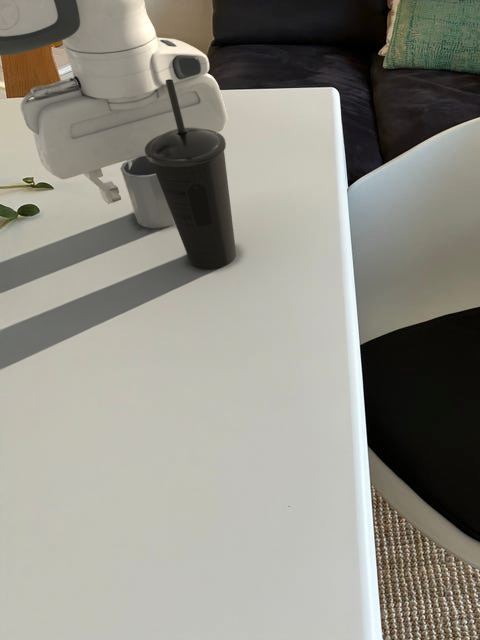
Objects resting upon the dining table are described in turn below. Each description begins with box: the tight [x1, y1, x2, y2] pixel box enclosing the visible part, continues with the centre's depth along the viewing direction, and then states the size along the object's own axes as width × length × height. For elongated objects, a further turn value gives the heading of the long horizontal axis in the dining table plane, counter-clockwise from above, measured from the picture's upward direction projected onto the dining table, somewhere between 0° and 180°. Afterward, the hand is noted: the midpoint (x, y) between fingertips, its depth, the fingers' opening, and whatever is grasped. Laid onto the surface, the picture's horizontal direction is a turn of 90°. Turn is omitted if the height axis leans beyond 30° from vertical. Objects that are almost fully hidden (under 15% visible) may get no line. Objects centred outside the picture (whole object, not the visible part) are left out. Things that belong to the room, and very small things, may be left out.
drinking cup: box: [145, 79, 237, 271], centre depth 79 cm, size 8×8×20 cm
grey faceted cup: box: [119, 154, 176, 229], centre depth 90 cm, size 6×6×7 cm
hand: (152, 187), depth 90 cm, fingers open, 8 cm apart
